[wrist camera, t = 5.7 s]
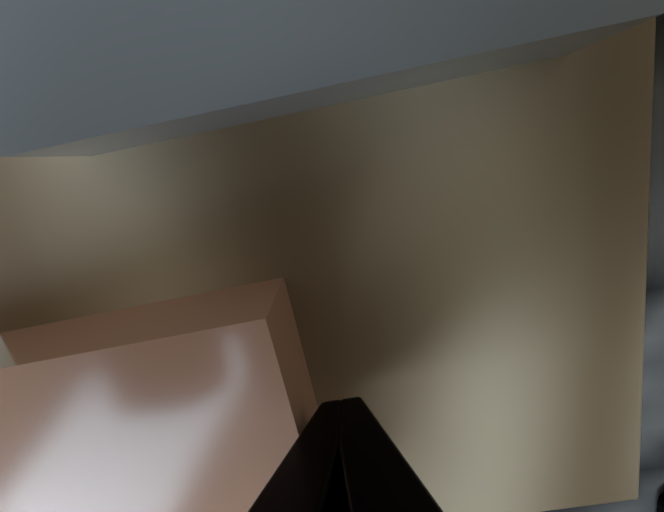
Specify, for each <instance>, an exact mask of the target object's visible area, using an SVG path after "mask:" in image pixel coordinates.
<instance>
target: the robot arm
mask: <svg viewBox="0 0 664 512" xmlns="http://www.w3.org/2000/svg"><path fill="white" fill-rule="evenodd" d="M248 512H443V510H442V509H441V507H440V506H439V505H438V503H437V502H436V501H435V499H434V498H433V496H432V495H431V494H430V492H429V491H428V489H427V488H426V487H425V485H424V484H423V482H422V481H421V480H420V478H419V477H418V476H417V474H416V473H415V471H414V470H413V469H412V467H411V466H410V464H409V463H408V462H407V460H406V459H405V457H404V456H403V455H402V453H401V452H400V451H399V449H398V448H397V446H396V445H395V444H394V442H393V441H392V439H391V438H390V437H389V435H388V434H387V432H386V431H385V430H384V428H383V427H382V425H381V424H380V423H379V421H378V420H377V419H376V417H375V416H374V414H373V413H372V412H371V410H370V409H369V407H368V406H367V405H366V403H365V402H364V400H363V399H362V398H361V397H352V398H346V399H342V400H332V401H325V402H322V403H321V404H320V405H319V407H318V408H317V410H316V411H315V413H314V414H313V416H312V417H311V419H310V420H309V422H308V423H307V425H306V426H305V428H304V429H303V431H302V432H301V434H300V435H299V436H298V438H297V439H296V441H295V442H294V444H293V445H292V447H291V448H290V450H289V451H288V453H287V454H286V456H285V457H284V459H283V460H282V462H281V463H280V465H279V466H278V468H277V469H276V471H275V472H274V474H273V475H272V477H271V478H270V479H269V481H268V482H267V484H266V485H265V487H264V488H263V490H262V491H261V493H260V494H259V496H258V497H257V499H256V500H255V502H254V503H253V505H252V506H251V508H250V509H249V511H248ZM657 512H664V492H663V493H661V495H660V496H659V498H658V501H657Z"/></svg>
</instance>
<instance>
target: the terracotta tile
mask: <svg viewBox="0 0 664 512" xmlns="http://www.w3.org/2000/svg"><path fill="white" fill-rule="evenodd" d="M317 408H318V406H317V403H316V399H315V395H314V391H313V387H312V383H311V379H310V376H309V372H308V368H307V364H306V360H305V356H304V353H303V349H302V345H301V341H300V337H299V333H298V330H297V326H296V322H295V318H294V314H293V310H292V306H291V303H290V299H289V295H288V291H287V287H286V283H285V280H284V277H282V278H277V279H272V280H267V281H262V282H257V283H252V284H247V285H241V286H236V287H231V288H226V289H221V290H216V291H211V292H206V293H201V294H196V295H191V296H185V297H180V298H175V299H170V300H165V301H160V302H155V303H150V304H145V305H140V306H134V307H129V308H124V309H119V310H114V311H109V312H104V313H99V314H94V315H89V316H84V317H78V318H73V319H68V320H63V321H58V322H53V323H48V324H43V325H38V326H33V327H27V328H22V329H17V330H12V331H7V332H2V333H0V512H248V511H249V509H250V508H251V506H252V505H253V503H254V502H255V500H256V499H257V497H258V496H259V494H260V493H261V491H262V490H263V488H264V487H265V485H266V484H267V482H268V481H269V479H270V478H271V477H272V475H273V474H274V472H275V471H276V469H277V468H278V466H279V465H280V463H281V462H282V460H283V459H284V457H285V456H286V454H287V453H288V451H289V450H290V448H291V447H292V445H293V444H294V442H295V441H296V439H297V438H298V436H299V435H300V434H301V432H302V431H303V429H304V428H305V426H306V425H307V423H308V422H309V420H310V419H311V417H312V416H313V414H314V413H315V411H316V410H317Z"/></svg>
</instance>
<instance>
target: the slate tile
mask: <svg viewBox="0 0 664 512" xmlns="http://www.w3.org/2000/svg"><path fill="white" fill-rule="evenodd" d="M661 14H664V0H0V156H1V157H64V156H96V155H101V154H105V153H110V152H115V151H119V150H124V149H129V148H133V147H138V146H143V145H147V144H152V143H157V142H161V141H166V140H171V139H176V138H180V137H185V136H190V135H194V134H199V133H204V132H208V131H213V130H218V129H222V128H227V127H232V126H236V125H241V124H246V123H251V122H255V121H260V120H265V119H269V118H274V117H279V116H283V115H288V114H293V113H297V112H302V111H307V110H311V109H316V108H321V107H326V106H330V105H335V104H340V103H344V102H349V101H354V100H358V99H363V98H368V97H372V96H377V95H382V94H386V93H391V92H396V91H401V90H405V89H410V88H415V87H419V86H424V85H429V84H433V83H438V82H443V81H447V80H452V79H457V78H461V77H466V76H471V75H476V74H480V73H485V72H490V71H494V70H499V69H504V68H508V67H513V66H518V65H522V64H527V63H532V62H537V61H541V60H546V59H551V58H555V57H560V56H565V55H568V54H571V53H573V52H575V51H578V50H580V49H582V48H585V47H587V46H589V45H592V44H594V43H596V42H599V41H601V40H603V39H606V38H608V37H610V36H613V35H615V34H617V33H619V32H622V31H624V30H626V29H629V28H631V27H633V26H636V25H638V24H640V23H643V22H645V21H647V20H650V19H652V18H654V17H657V16H659V15H661Z"/></svg>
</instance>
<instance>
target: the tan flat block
mask: <svg viewBox="0 0 664 512" xmlns="http://www.w3.org/2000/svg"><path fill="white" fill-rule="evenodd" d="M655 33H656V17H654V18H652V19H650V20H647V21H645V22H643V23H640V24H638V25H636V26H633V27H631V28H629V29H626V30H624V31H622V32H619V33H617V34H615V35H613V36H610V37H608V38H606V39H603V40H601V41H599V42H596V43H594V44H592V45H589V46H587V47H585V48H582V49H580V50H578V51H575V52H573V53H571V54H568V55H565V56H560V57H555V58H551V59H546V60H541V61H537V62H532V63H527V64H522V65H518V66H513V67H508V68H504V69H499V70H494V71H490V72H485V73H480V74H476V75H471V76H466V77H461V78H457V79H452V80H447V81H443V82H438V83H433V84H429V85H424V86H419V87H415V88H410V89H405V90H401V91H396V92H391V93H386V94H382V95H377V96H372V97H368V98H363V99H358V100H354V101H349V102H344V103H340V104H335V105H330V106H326V107H321V108H316V109H311V110H307V111H302V112H297V113H293V114H288V115H283V116H279V117H274V118H269V119H265V120H260V121H255V122H251V123H246V124H241V125H236V126H232V127H227V128H222V129H218V130H213V131H208V132H204V133H199V134H194V135H190V136H185V137H180V138H176V139H171V140H166V141H161V142H157V143H152V144H147V145H143V146H138V147H133V148H129V149H124V150H119V151H115V152H110V153H105V154H101V155H96V156H64V157H1V156H0V333H2V332H7V331H12V330H17V329H22V328H27V327H33V326H38V325H43V324H48V323H53V322H58V321H63V320H68V319H73V318H78V317H84V316H89V315H94V314H99V313H104V312H109V311H114V310H119V309H124V308H129V307H134V306H140V305H145V304H150V303H155V302H160V301H165V300H170V299H175V298H180V297H185V296H191V295H196V294H201V293H206V292H211V291H216V290H221V289H226V288H231V287H236V286H241V285H247V284H252V283H257V282H262V281H267V280H272V279H277V278H282V277H284V280H285V283H286V287H287V291H288V295H289V299H290V303H291V306H292V310H293V314H294V318H295V322H296V326H297V330H298V333H299V337H300V341H301V345H302V349H303V353H304V356H305V360H306V364H307V368H308V372H309V376H310V379H311V383H312V387H313V391H314V395H315V399H316V403H317V406H318V407H319V405H320V404H321V403H322V402H325V401H332V400H342V399H346V398H352V397H361V398H362V399H363V400H364V402H365V403H366V405H367V406H368V407H369V409H370V410H371V412H372V413H373V414H374V416H375V417H376V419H377V420H378V421H379V423H380V424H381V425H382V427H383V428H384V430H385V431H386V432H387V434H388V435H389V437H390V438H391V439H392V441H393V442H394V444H395V445H396V446H397V448H398V449H399V451H400V452H401V453H402V455H403V456H404V457H405V459H406V460H407V462H408V463H409V464H410V466H411V467H412V469H413V470H414V471H415V473H416V474H417V476H418V477H419V478H420V480H421V481H422V482H423V484H424V485H425V487H426V488H427V489H428V491H429V492H430V494H431V495H432V496H433V498H434V499H435V501H436V502H437V503H438V505H439V506H440V507H441V509H442V510H443V512H541V511H549V510H557V509H564V508H572V507H580V506H587V505H595V504H603V503H611V502H618V501H626V500H634V499H638V490H639V463H640V437H641V410H642V383H643V356H644V329H645V302H646V275H647V248H648V222H649V195H650V168H651V141H652V114H653V87H654V60H655Z"/></svg>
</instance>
